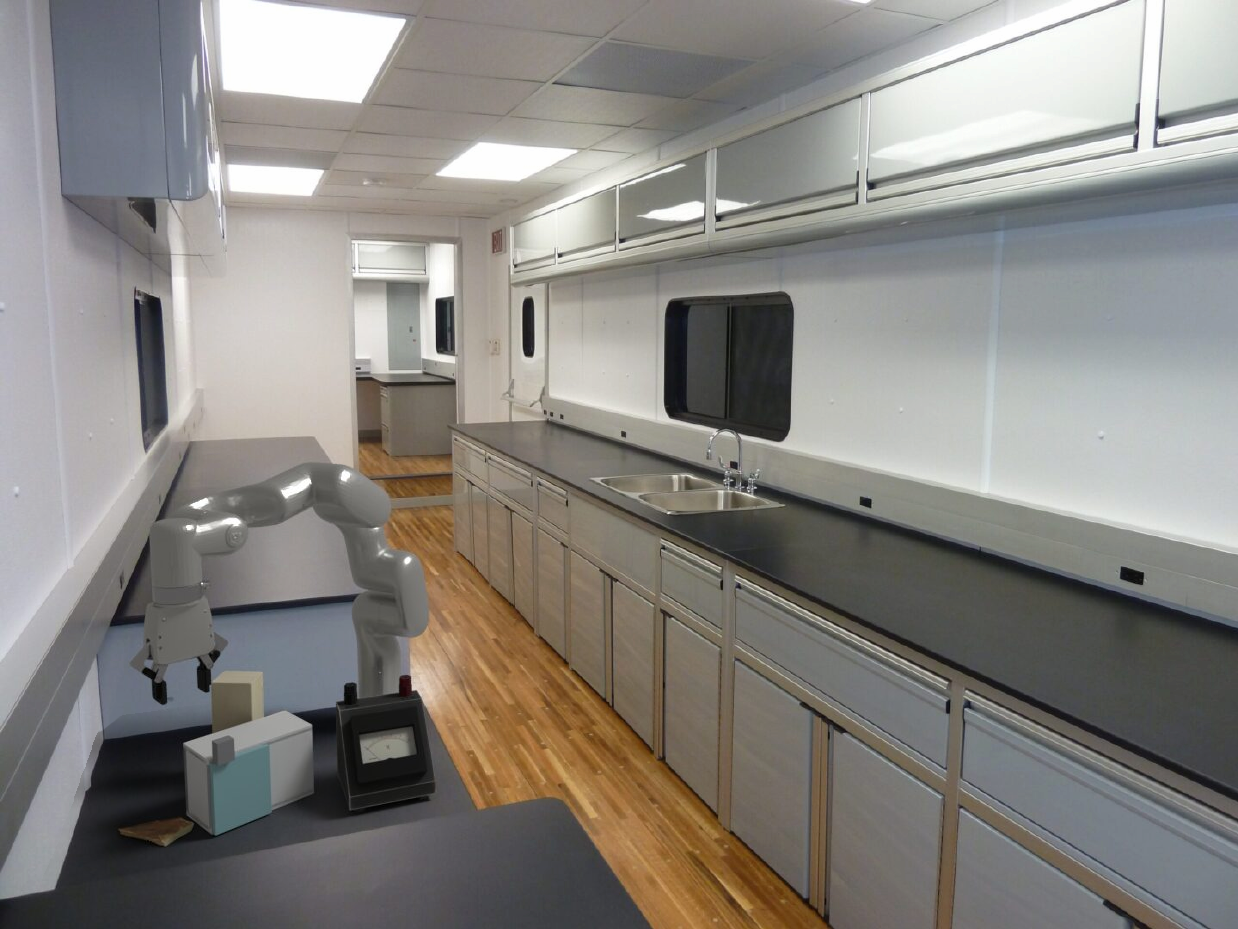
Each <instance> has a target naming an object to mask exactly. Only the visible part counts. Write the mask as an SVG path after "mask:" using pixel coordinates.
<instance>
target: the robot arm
mask: <svg viewBox="0 0 1238 929" xmlns="http://www.w3.org/2000/svg"><path fill="white" fill-rule="evenodd" d="M310 508H313V511H314V513H315V514H316V515H317V517H319V518H320V519H321V520H323V521H324V522H326V523H329V524H333V525H334V526H335V527H337V528H338V530H339V531H340V533H341V534H342V537H343V538H344V543H345V547H346V553H347V557H348V563H349V567H350V568H349V569H350V572H351V577H352V580H353V583H354V584H355V585H356V586H357V587H358V588H360V589H364V590H365V591H363V592H361V593H360V594H358V595H357V596H356V598H355V599H354V601H353V603H352V606H351V618H352V623H353V628H354V632H355V638H356V650H357V652H356V653H357V654H356V656H357V699H358V698H365V697H372V696H378V695H385V694H392V693H399V677H400V676H402V659H401V658H402V657H401V656H402V654H401V653H402V652H401V646H400V643H399V640H398V637H399V638H400V637H401V638H408V639H411V638H412V639H413V638H417V637H419V636H421V635H423V634H424V632H426V629H427V628H428V626H429V621H430V607H429V606H430V605H429V597H428V592H427V584H426V580H425V579H426V578H425V573H424V568H423V564H422V562H421V560H420V558H419V557H418V556H417V555H416V554H415V553H412V552H411V551H407V550H401V549H394V548H390V546H389V545H388V542H387V538H386V533H385V530H384V525H385V524H386V523H387V522H388V520H389V519H390V516H391V514H392V502H391V499H390V496H389V495H388V493H387V492H386V490H384V489H383V488H382V487H381V486H379V485H378V484H376V483H375V482H374V481H373V480H371V479H370V478H368V477H367V476H366V475H365V474H363V473H361V472H360V471H359V470H357V469H355V468H353V467H351V466H349V465H346V464H340V463H329V462H328V463H327V462H318V461H309V462H303V463H300V464H297V465H295V466H293V467H291V468H289V469H286V470H284V471H282V472H281V473H278V474H276V475H274V476H272V477H269V478H268V479H265V480H263V481H260V482H258V483H254V484H248V485H244V486H240V487H236V488H231V489H227V490H223V491H218V492H215V493H211V494H208V495H205V496H201V497H198V498H197V499H194V500H192V501H190V502H188V503H186V504H183V505H181V506H180V507H177V508H176V509H175V510H173V511H172V512H171V514H169V516H168V517H167V518H164V519H160V520H157V521H155V522H153V523H152V524H151V526H150V528H149V535H148V537H149V553H150V555H149V556H150V571H151V572H150V574H151V591H152V594H151V595H152V602H148V603H147V604H146V608H145V615H144V616H145V617H144V623H143V640H142V644H143V645H142V648H141V649H140V650H139V651H138V653H137V654H136V655H135V656H134V657H133V659H131V661H130V662H129V666H130V667H131V668H133V669H134V670H136V671H137V672H139V673H140V674H141V675H143V676H144V677H146V678H148V679H149V680H151V693H152V694H151V695H152V696H151V697H152V699H153V700H154V701H155V702H157V703H158V704H159V705H161V706H166V705H167V704H168V687H167V686H168V685H167V681H166V680H165V679H164V677H165V674H166V672H167V669H168V666H169V665H172V664H176V663H180V662H183V661H188V660H193V659H196V660H197V662H198V663H199V665H197V666H196V684H197V685H196V688H197V689H198V690H199V691H202V692H203V693H206V694H207V693H211V692H210V691H211V688H210V687H211V683H212V669H213V668H214V667H215V663H216V661H217V660H218V659H219V657H221V654H222V652H223V651H225V649H226V648H227V646H228V645H229V641H228V640H227V639H225V638H224V637H222V635H221V636H220V634H218V633H216V632H215V631H214V630H215V629H214V622H213V616H212V612H211V607H210V604H209V600H208V598H207V596H206V595H205V590H207V589H210V588H211V581H210V580H204V579H203V566H202V560H203V559H206V558H207V559H208V558H216V557H226V556H229V555H232V554H235V553H236V552H238V551H240V550H241V549H243V547H244V546H245V545H246V543H247V540H248V538H249V528H263V527H264V528H266V527H270V526H277V525H279V524H282V523H284V522H286V521H288V520H290V519H291V518H293V517H295V516H298V515H299V514H301V513H302V512H304V511H307V510H308V509H309V510H310ZM146 660H148V661H152V664H151V667H150V668H149V667H148V666H146V665H145V661H146Z"/></svg>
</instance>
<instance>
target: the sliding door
mask: <svg viewBox="0 0 1238 929" xmlns="http://www.w3.org/2000/svg"><path fill="white" fill-rule="evenodd" d="M212 757H213V762H212V763H210V777H211V800H212V823H213V835H214V836H219V835H220V834H223V833H225V832H226V833H227V832H228V831H230V830H233V829H235V828H238V827H240V826H243V825H245V824H248V823H249V822H253V821H255V820H257V819H260V818H262V817H264V816H267V815H270V814H272V813H273V812H272V811H273V810H272V808H271V778H270V749H269V745H268V744H264V745H261V746H258V747H255V748H253V749H250V750H247V751H244V752H241V753H238V754H235V750H234V738H232V737H231V736H229V735H228V736H225V737H222V738H219V739H216V740H212Z"/></svg>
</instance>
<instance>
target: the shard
mask: <svg viewBox="0 0 1238 929" xmlns="http://www.w3.org/2000/svg"><path fill="white" fill-rule="evenodd" d="M194 824H195V823H194V822H193V821H189V820H186V819H184V818H182V817H181V816H180V817H172V818H168V819H167V818H166V819H160V820H153V821H148V822H144V823H139V824H135V825H131V826H130V825H128V826H124V827H119V828H117V829H118V831H119V832H120V835H121V834H122V836H126V837H132V838H136V839H139V840H145V841H147V840H149V841H148V842H150V841H152V842H151V843H153V842H154V843H153V844H157V845H159V846H163V847H167V846H168V845H170V844H171V843H173V842H174V841H176V840H177V839H179V838H181V837H183V836H185V835H187V834H188V833H190V832H191V831H192V829H193V827H194Z"/></svg>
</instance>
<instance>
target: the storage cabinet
mask: <svg viewBox="0 0 1238 929" xmlns="http://www.w3.org/2000/svg"><path fill="white" fill-rule="evenodd" d="M228 735H229V736H231V737H232V738H234V750H235V754H238V753H241V752H244V751H247V750H250V749H253V748H255V747H258V746H261V745H264V744H268V745H269V749H270V778H271V808H272V811H273V810H276V809H279V808H281V807H284V806H287V805H288V804H291V803H293V802H296V801H298V800H301V799H303V798H306V797H308V796H311V795H313V794H315V787H314V786H315V782H314V780H315V779H314V778H315V777H314V749H313V748H314V747H313V746H314V744H313V743H314V741H313V739H314V738H313V724H312V723H309V722H307V721H306V720H304V719H302V718H300V717H299V716H296V715H295V714H293V713H291V712H289V711H287V710H282V711H279V712H275V713H272V714H270V715H267V716H264V717H263V718H260V719H257V720H253V721H250V722H247V723H244V724H241V725H238V726H235V727H232V728H229V729H225V730H222V731H219V732H216V733H210V734H207V735H204V736H200V737H197V738H195V739H191V740H189V741H186V742H183V743H182V744H183V765H184V767H183V768H184V769H183V771H184V784H185V785H184V787H185V788H184V789H185V808H186V810H185V811H186V812H185V813H186V816H188V817H189V818H190V819H191V820H192V821H194V822H195V823H196V824H197V825H199V826H200V827H201V828H203V829H204V830H206V831H207V832H208V833H209V834H211V835H214V834H213V823H212V800H211V777H210V763H212V762H213V757H212V740H216V739H219V738H222V737H225V736H228Z"/></svg>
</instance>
